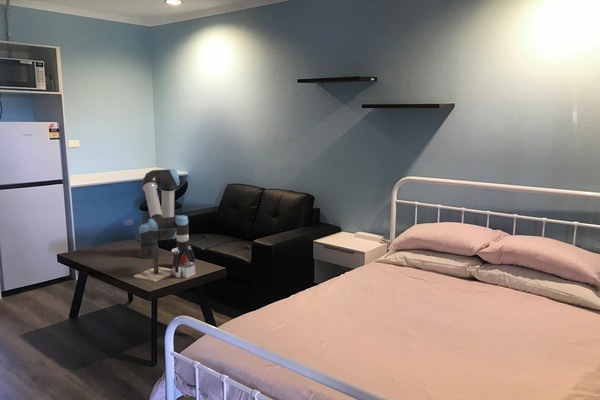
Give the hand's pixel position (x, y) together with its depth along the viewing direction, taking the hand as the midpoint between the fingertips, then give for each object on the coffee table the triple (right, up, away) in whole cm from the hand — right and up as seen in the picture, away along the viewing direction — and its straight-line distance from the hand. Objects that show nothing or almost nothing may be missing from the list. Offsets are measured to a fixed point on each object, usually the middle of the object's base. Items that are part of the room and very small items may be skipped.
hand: (184, 274), depth 298 cm
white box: (0, 0, 0) cm, 0 cm away
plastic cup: (-6, +2, +16) cm, 17 cm away
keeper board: (-18, 0, +1) cm, 18 cm away
